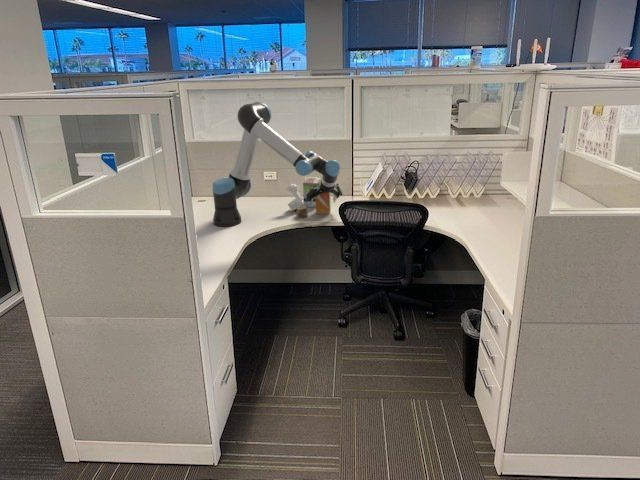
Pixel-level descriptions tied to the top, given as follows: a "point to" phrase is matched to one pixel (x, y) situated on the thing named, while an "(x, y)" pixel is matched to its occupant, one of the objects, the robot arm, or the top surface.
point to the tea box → (307, 187)
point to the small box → (323, 203)
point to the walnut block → (302, 212)
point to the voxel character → (298, 198)
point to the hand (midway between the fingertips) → (322, 201)
